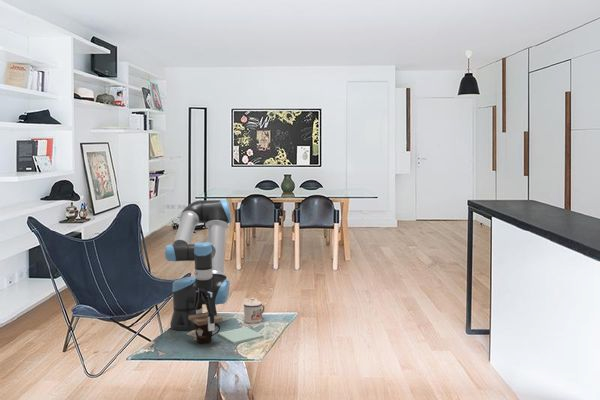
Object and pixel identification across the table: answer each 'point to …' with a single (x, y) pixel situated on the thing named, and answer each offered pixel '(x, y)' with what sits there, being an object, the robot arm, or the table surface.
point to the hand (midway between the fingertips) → (205, 327)
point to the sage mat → (240, 335)
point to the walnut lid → (203, 318)
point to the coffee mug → (204, 334)
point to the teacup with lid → (253, 311)
